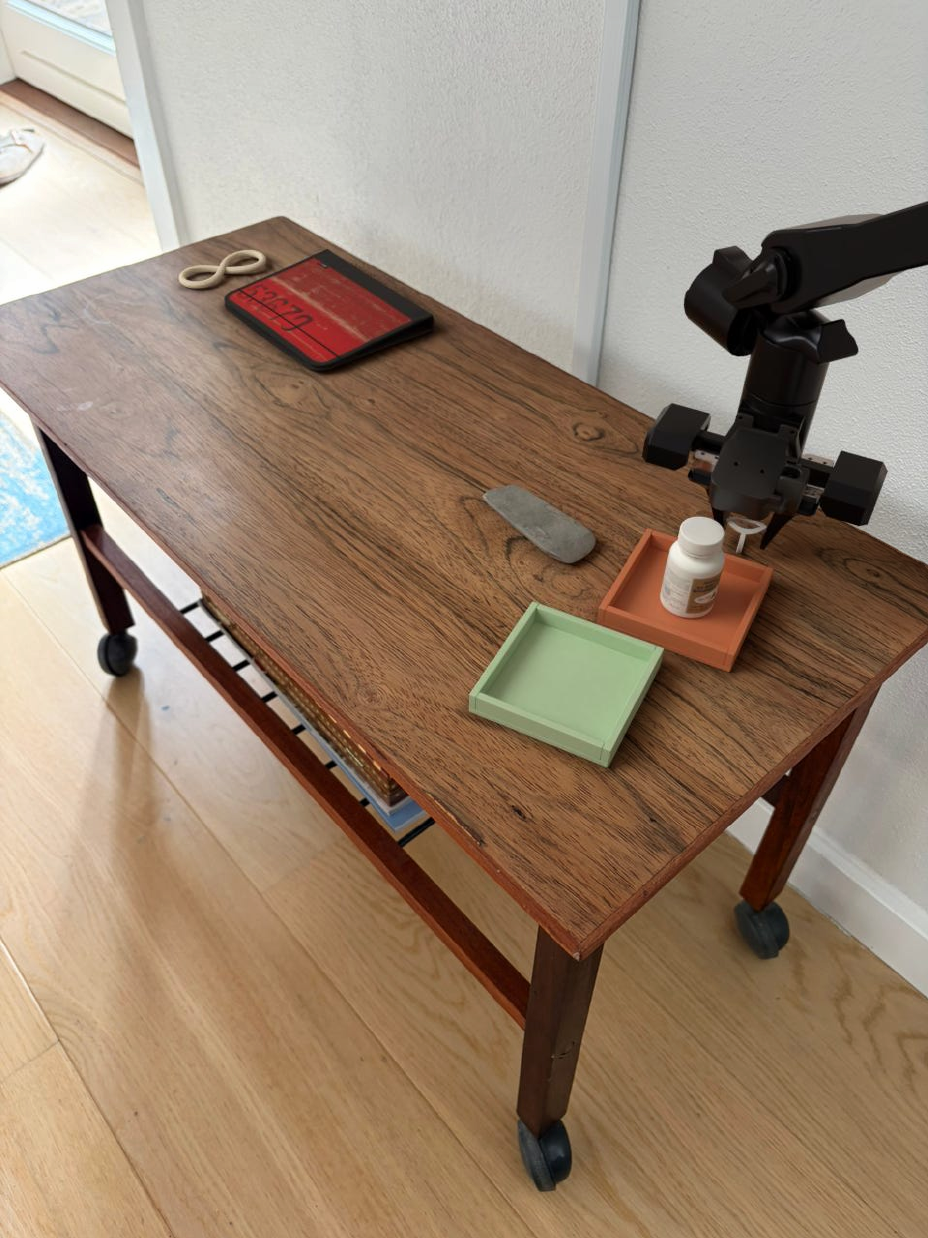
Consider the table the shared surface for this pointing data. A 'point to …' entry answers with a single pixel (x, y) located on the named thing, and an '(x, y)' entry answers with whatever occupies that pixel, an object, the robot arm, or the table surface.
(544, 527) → the stone
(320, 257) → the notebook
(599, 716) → the sage tray
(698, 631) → the terracotta tray
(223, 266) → the decorative object
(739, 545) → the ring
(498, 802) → the table surface
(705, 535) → the pill bottle
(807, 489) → the robot arm
